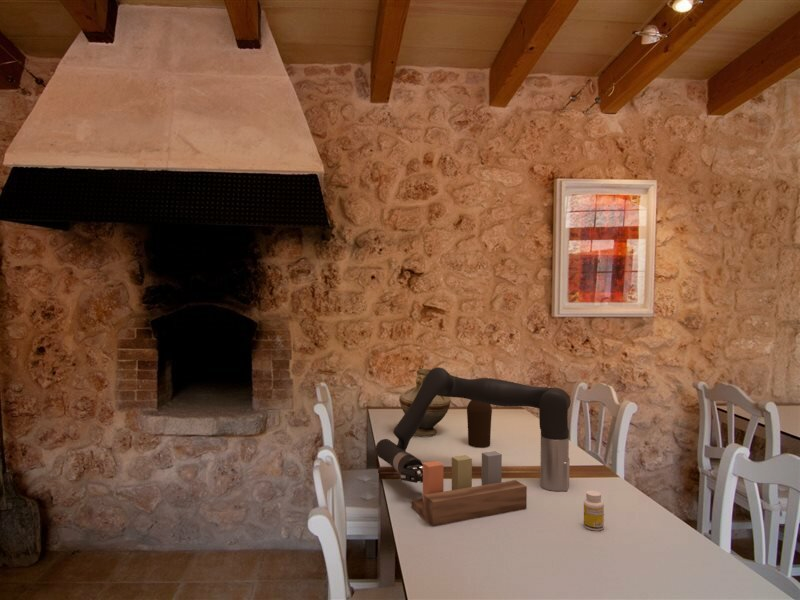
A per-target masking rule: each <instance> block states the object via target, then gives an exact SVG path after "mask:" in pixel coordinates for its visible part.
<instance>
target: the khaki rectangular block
mask: <svg viewBox="0 0 800 600" xmlns="http://www.w3.org/2000/svg"><path fill="white" fill-rule="evenodd" d="M469 487H473V458H472V457H470V456H468V455H466V454H464V455H463V454H462V455H456V456H451V490H457V489H463V488H469Z"/></svg>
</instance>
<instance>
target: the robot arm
mask: <svg viewBox="0 0 800 600" xmlns="http://www.w3.org/2000/svg"><path fill="white" fill-rule="evenodd" d="M430 370H431V371H430V372H429V373H428V374H427V376H426V378H425V380H424V382H423V384H422V386H421V388H420V390H419V392H418V393H417V395H416V397H415V399H414V401H413V402H412V404H411V406H410V407H409V409H408V410H407V412H406V413H405V414H404V415H403V416H402V418H401V419H400V420H399V422H398V423H397V424H396V426H395V427H394V429H393V430H392V431H393V434H394V436H395V437H396V438H397V439H398V440H397V444H396V443H395V442H393V441H391V440H390V439H389V438H383V439H380V440H378V442H377V443H376V445H375V453H376V456H377V457H379V458H380V459H381V460H382V461H384V462H386V463H387V464H388V465H390V466H391V468H393V469H394V470H395V471H396V472H397V473H398V474H399V475H400V481H405V482H409V483H415V484H417V483H418V482H419V483H422V484H423V462H422V461H421V460H420V459H419V458H417V457H416V456H414V455H413V454H412V453H410V452H408V451H406V450H407V448H408V447H409V444H410V441H411V439H412V438H413V437H414V436H415V435H414V434H415V432H416V431H417V429H418V428H419V426H420V425H421V423H422V421H423V418H424V416H425V413H426V411H427V408H428V407H429V405H430V403H431V402H432V400H433V399H434V398H435V397H436V395H438V396H443V397H450V398H460V399H466V400H470V401H471V400H473V401H477V402H482V403H486V404H490V405H491V406H497V407H506V408H507V407H509V408H510V407H511V408H513V407H514V408H515V407H530V408H535V409H539V413H538V415H539V416H538V417H539V430H540V464H539V466H540V472H539V473H540V478H539V479H540V480H539V481H540V484H539V485H540V487H541V488H543V489H545V490H548V491H551V492H552V491H553V492H561V491H563V492H568V489H569V487H570V457H569V454H570V453H569V450H570V447H569V446H570V445H569V444H570V441H569V439H570V433H569V432H570V431H569V430H570V429H569V427H568V426H569V425H568V420H569V417H568V413H569V411H568V410H569V408H570V407H571V400H572V399H571V397H570V396H569V394H568V393H567V391H565V390H564V389H562V388H558V387H545V386H544V387H542V386H532V385H527V384H522V383H518V382H513V381H508V380H503V379H498V378H497V379H496V378H491V377H479V378H471V379H470V378H469V379H468V378H463V377H459V376H455V375H452V374H450V373H449V372H448V370H446V369H445V368H443V367H441V366H440V367H434V368H432V369H430Z"/></svg>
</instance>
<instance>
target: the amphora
mask: <svg viewBox="0 0 800 600" xmlns="http://www.w3.org/2000/svg"><path fill="white" fill-rule="evenodd" d="M431 370H432V369H430V368H422V369H421V368H420V369H418V370H417V371H416V378H415V385H416V386H413V387H410V388H409V389H406V390H404V391H403V392H402V393H401V394H400V396H399V397H398V398H399V404H400V408H401V410H402V412H403V414H404V415H405V413H406V412H407V410H408V409H409V407H410V406H411V404H412V402H413V401H414V399H415V397H416V395H417V393H418V392H419V390H420V388H421V386H422V384H423V382H424V380H425V378H426V376H427V374H428V373H429V372H430V371H431ZM450 405H451V397H443V396H438V395H436V397H435V398H434V399H433V400H432V402H431V403H430V405H429V407H428V408H427V411H426V413H425V416H424V418H423V421H422V423H421V425H420V426H419V428H418V429H417V431H416V432H415V435H414V436H417V435H418V437H423V436H428V437H434V436H436V434H437V430H436V428H435V426H436V425H438V423H440V422H441V421H442V420H443V419H444V418H445V416H446V415H447V413H448V411H449V408H450ZM433 435H434V436H433Z"/></svg>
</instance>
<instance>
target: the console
mask: <svg viewBox="0 0 800 600" xmlns="http://www.w3.org/2000/svg"><path fill="white" fill-rule="evenodd" d="M527 487H528V486H527V485H525V484H523V483H521V482H520V481H518V480H516V479H513V480H507V481H502V482H500V483H494V484H488V485H482V484H481V485H477V486H476V485H475V486H472V487H469V488H463V489H457V490H452V489H450V490H443V492H438V493H432V494H426V495H424V502H423V498H421V499H414V500H411V508H412V509H413V510H414V511H416V513H417V514H419V515H420V517H422V519H424V520H425V521H426V522H427V523H428V524H429V525H431V526H432V527H437V526H443V525H448V524H453V523H458V522H464V521H469V520H475V519H480V518H487V517H490V516H491V517H492V516H496V515H497V516H498V515H503V514H507V513H513V512H518V511H522V510H527V507H528V506H527V503H528V502H527V501H528V500H527V499H528V498H527V497H528V491H527V490H528V488H527Z"/></svg>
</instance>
